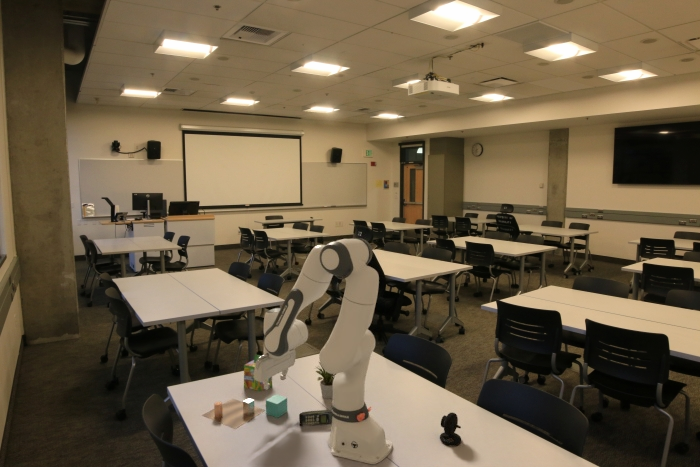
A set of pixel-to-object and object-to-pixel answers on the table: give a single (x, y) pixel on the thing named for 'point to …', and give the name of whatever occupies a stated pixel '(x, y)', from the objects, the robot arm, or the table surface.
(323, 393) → the house plant
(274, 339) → the robot arm
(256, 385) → the chalk box
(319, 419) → the mobile phone
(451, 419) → the webcam
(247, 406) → the beige wooden block
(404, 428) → the table surface
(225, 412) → the walnut board
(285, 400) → the mint green cube
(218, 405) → the terracotta peg
